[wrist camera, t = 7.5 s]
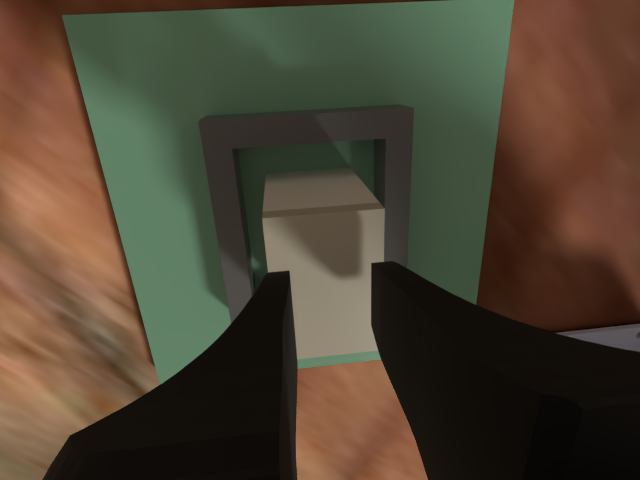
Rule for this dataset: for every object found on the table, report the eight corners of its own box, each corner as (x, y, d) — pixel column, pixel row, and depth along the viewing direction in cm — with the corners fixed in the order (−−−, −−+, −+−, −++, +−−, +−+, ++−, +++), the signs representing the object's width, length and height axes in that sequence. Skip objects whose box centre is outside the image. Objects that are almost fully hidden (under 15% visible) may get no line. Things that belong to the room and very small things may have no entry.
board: (502, 1, 15) (545, -12, 13) (463, 340, 22) (487, 372, 19) (72, 18, 14) (31, 6, 12) (163, 372, 20) (149, 412, 18)
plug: (350, 167, 16) (384, 208, 11) (352, 274, 18) (381, 350, 13) (265, 173, 16) (262, 218, 11) (276, 281, 18) (277, 361, 13)
